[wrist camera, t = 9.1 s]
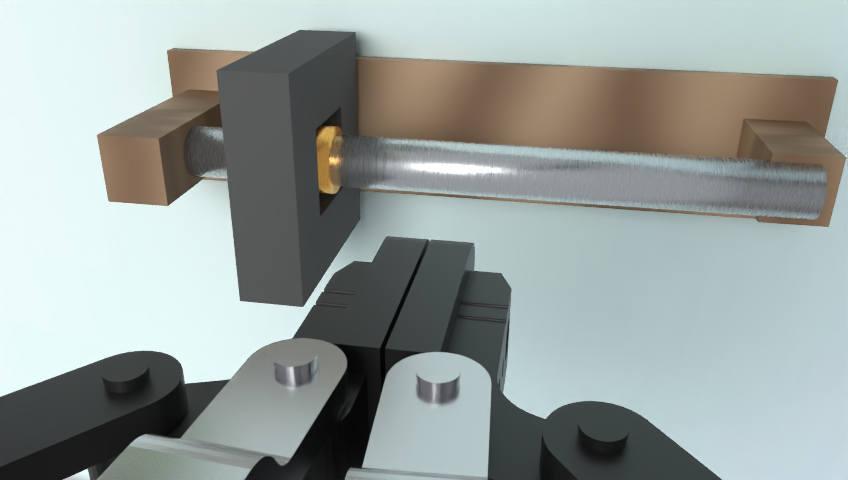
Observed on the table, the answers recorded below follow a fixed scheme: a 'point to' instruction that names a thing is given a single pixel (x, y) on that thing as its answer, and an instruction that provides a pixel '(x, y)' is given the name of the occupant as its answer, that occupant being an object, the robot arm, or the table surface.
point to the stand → (509, 117)
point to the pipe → (547, 173)
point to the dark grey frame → (287, 161)
